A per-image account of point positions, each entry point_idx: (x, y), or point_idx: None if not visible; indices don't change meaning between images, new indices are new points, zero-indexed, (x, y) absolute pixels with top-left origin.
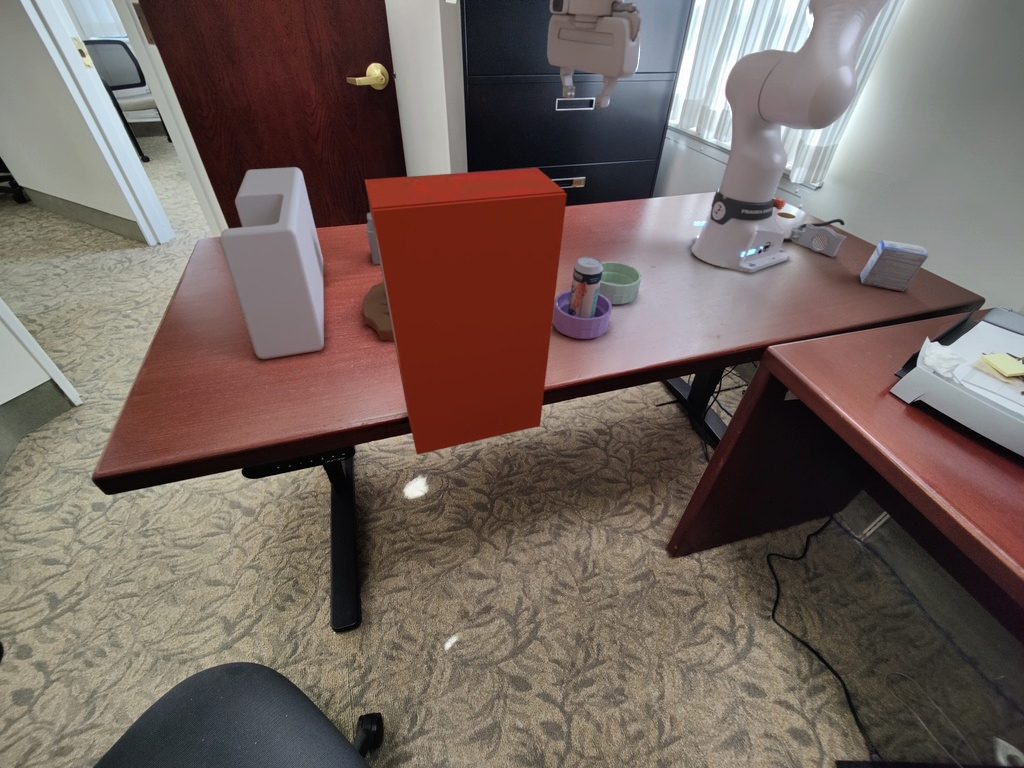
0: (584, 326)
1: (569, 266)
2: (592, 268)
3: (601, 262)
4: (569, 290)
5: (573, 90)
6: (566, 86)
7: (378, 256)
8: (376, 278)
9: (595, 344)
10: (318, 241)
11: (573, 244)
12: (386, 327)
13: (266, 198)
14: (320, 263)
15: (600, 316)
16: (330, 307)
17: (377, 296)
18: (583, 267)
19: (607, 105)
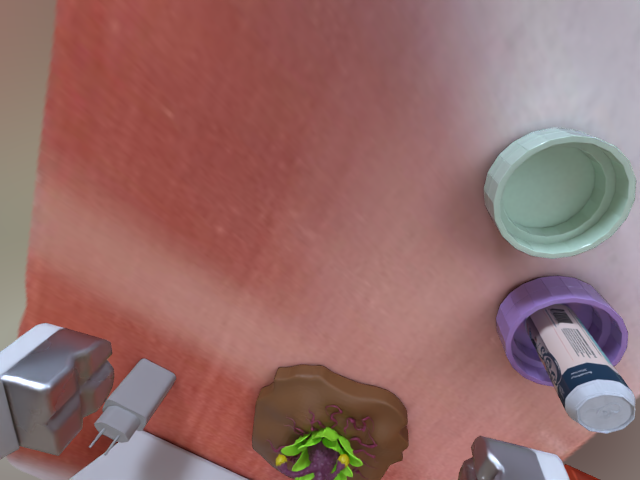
0: None
1: (392, 156)
2: (624, 426)
3: (502, 179)
4: (514, 325)
5: (74, 386)
6: (23, 441)
7: (167, 392)
8: (213, 408)
9: None
10: (114, 452)
11: (315, 43)
12: None
13: None
14: (166, 462)
15: (616, 357)
16: (251, 471)
17: (287, 466)
18: (602, 431)
19: (553, 459)
